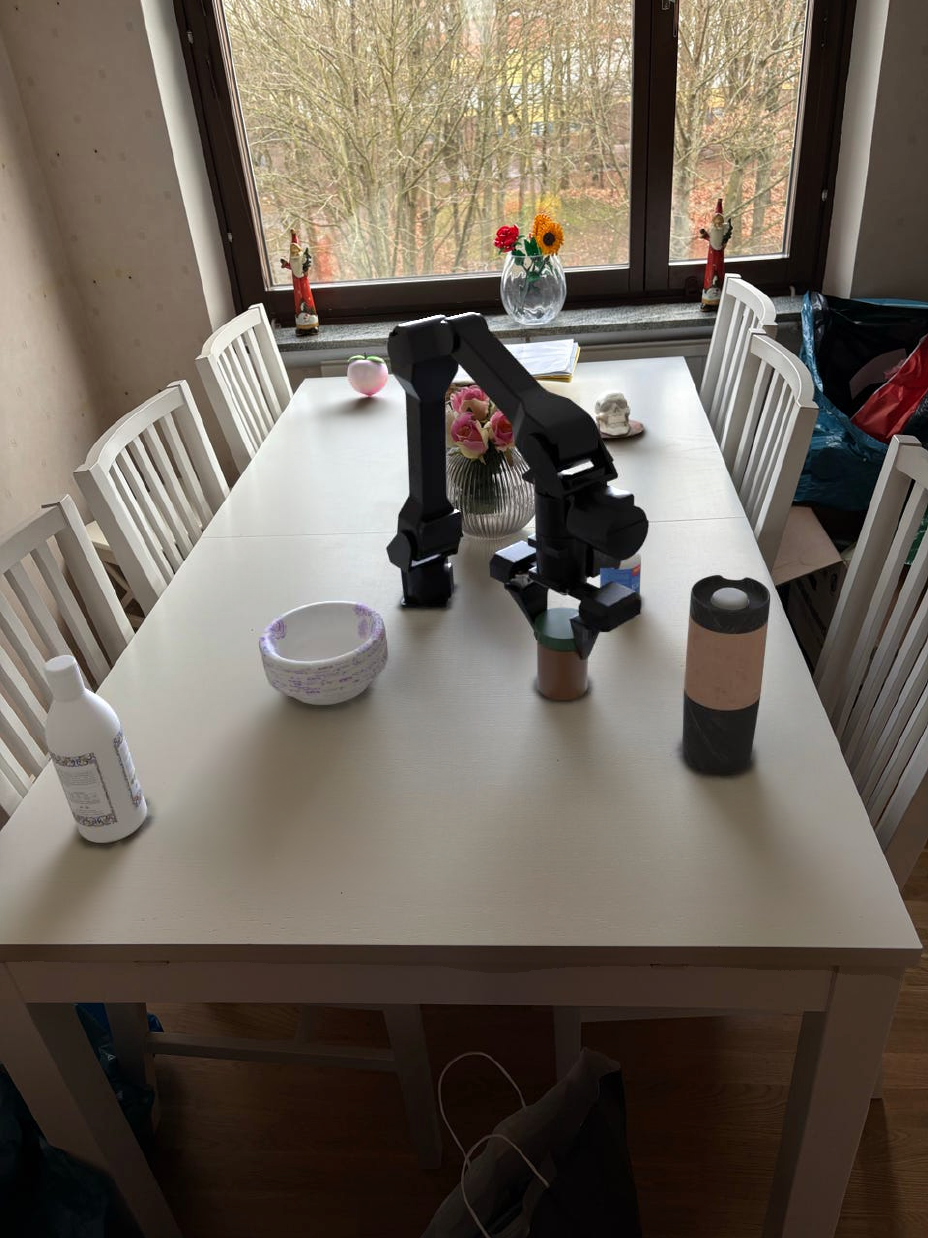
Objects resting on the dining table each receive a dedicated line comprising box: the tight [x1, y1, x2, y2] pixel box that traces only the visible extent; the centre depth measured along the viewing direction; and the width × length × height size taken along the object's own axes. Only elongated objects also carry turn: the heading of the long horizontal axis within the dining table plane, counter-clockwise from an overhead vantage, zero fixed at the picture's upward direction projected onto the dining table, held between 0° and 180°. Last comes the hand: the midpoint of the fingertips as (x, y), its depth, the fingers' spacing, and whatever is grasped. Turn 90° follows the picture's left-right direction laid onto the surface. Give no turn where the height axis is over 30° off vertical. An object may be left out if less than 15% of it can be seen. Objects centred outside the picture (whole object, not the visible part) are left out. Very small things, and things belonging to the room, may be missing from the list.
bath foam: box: [43, 654, 148, 844], centre depth 95 cm, size 7×7×20 cm
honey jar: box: [536, 640, 589, 701], centre depth 113 cm, size 6×6×8 cm
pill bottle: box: [599, 550, 642, 596], centre depth 129 cm, size 6×5×10 cm
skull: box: [594, 389, 645, 439], centre depth 186 cm, size 12×10×10 cm
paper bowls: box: [258, 600, 389, 706], centre depth 117 cm, size 15×15×8 cm
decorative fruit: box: [346, 351, 389, 397], centre depth 213 cm, size 9×8×10 cm
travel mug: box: [682, 574, 771, 776], centre depth 97 cm, size 8×8×20 cm
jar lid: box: [533, 606, 578, 651], centre depth 111 cm, size 7×7×2 cm
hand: (562, 647), depth 112 cm, fingers closed on jar lid, 7 cm apart
